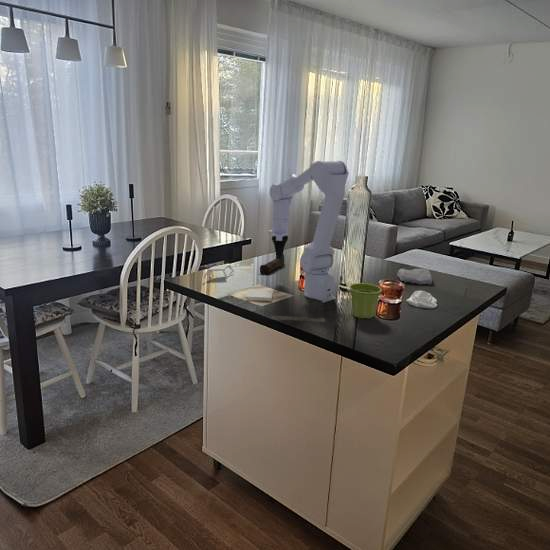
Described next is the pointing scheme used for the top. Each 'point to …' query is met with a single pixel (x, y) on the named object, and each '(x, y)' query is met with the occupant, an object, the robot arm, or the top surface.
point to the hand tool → (272, 265)
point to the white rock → (422, 300)
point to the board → (276, 297)
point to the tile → (259, 295)
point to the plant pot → (364, 299)
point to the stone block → (415, 276)
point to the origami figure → (218, 268)
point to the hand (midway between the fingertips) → (279, 256)
